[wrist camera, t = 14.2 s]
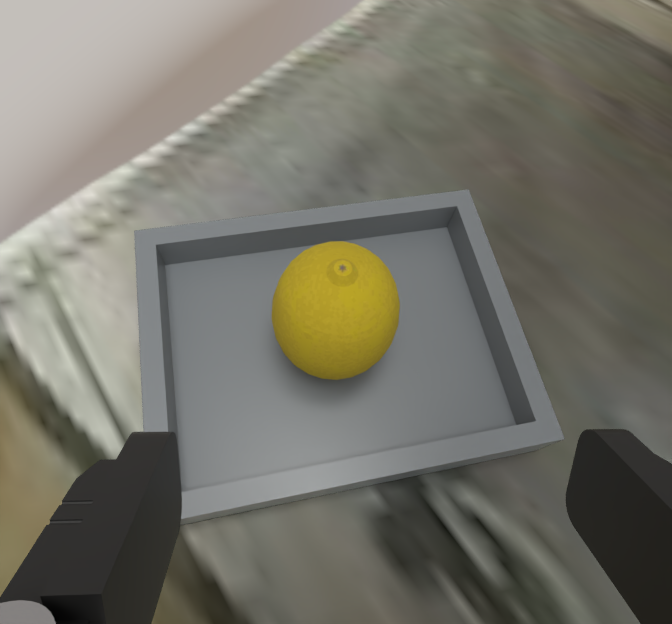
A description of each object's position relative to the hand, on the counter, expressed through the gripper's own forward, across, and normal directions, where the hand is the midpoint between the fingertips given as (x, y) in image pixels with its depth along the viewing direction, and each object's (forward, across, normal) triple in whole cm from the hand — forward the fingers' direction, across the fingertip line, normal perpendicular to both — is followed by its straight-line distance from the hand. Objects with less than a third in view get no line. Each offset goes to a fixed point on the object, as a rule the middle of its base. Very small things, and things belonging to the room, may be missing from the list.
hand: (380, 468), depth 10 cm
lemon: (+15, 0, +4) cm, 16 cm away
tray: (+16, 0, +5) cm, 17 cm away
